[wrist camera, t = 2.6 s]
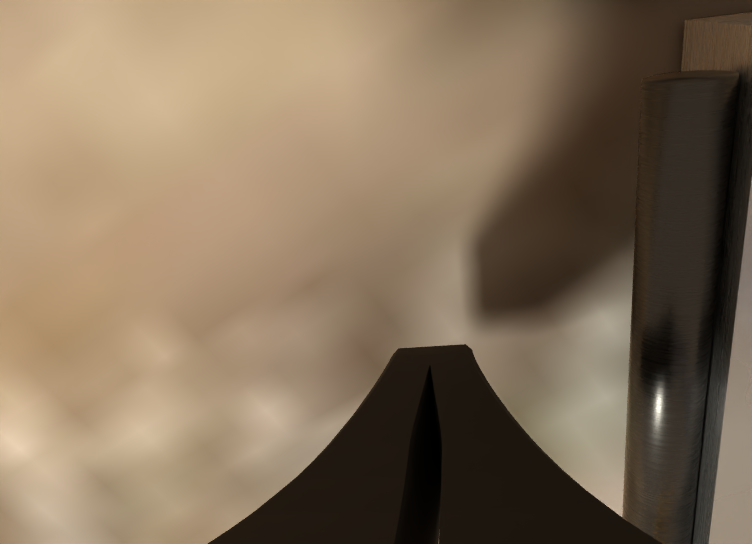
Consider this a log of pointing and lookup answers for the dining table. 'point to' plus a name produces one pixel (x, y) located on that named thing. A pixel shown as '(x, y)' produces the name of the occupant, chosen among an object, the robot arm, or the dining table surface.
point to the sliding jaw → (693, 295)
